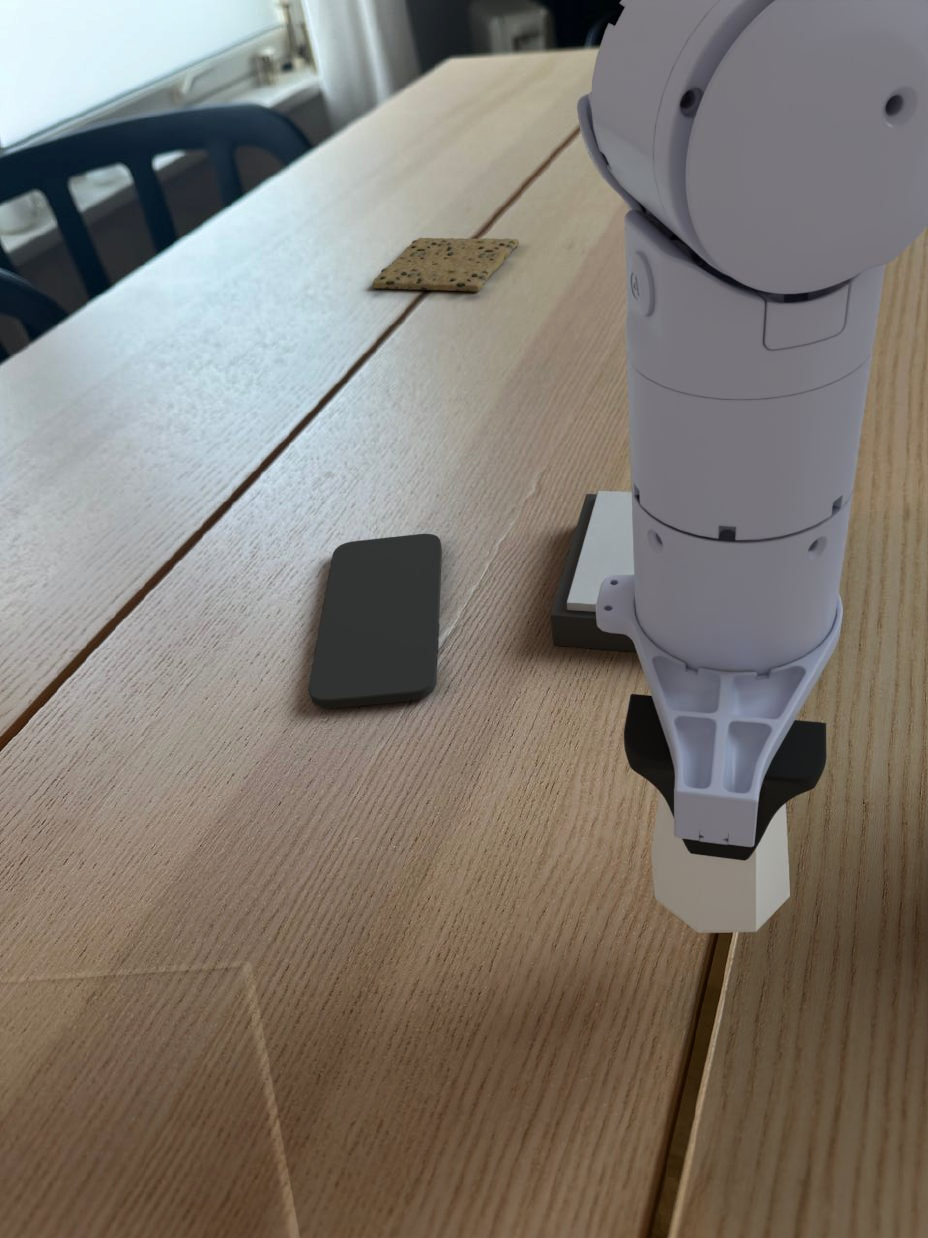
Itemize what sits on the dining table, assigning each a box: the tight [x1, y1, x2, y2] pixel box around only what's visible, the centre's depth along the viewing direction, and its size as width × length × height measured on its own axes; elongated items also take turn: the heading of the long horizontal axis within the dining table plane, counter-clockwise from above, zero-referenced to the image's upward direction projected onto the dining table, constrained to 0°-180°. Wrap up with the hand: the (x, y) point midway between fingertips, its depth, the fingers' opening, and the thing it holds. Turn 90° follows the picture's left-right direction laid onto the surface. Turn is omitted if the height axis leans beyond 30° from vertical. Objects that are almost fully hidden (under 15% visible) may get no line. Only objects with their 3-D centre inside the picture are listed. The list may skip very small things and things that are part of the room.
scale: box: [549, 490, 637, 653], centre depth 58 cm, size 14×12×3 cm
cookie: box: [372, 237, 520, 292], centre depth 101 cm, size 12×12×1 cm
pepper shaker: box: [650, 792, 791, 934], centre depth 35 cm, size 5×5×11 cm
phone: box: [308, 533, 443, 709], centre depth 61 cm, size 7×1×15 cm
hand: (722, 796), depth 35 cm, fingers closed on pepper shaker, 4 cm apart
